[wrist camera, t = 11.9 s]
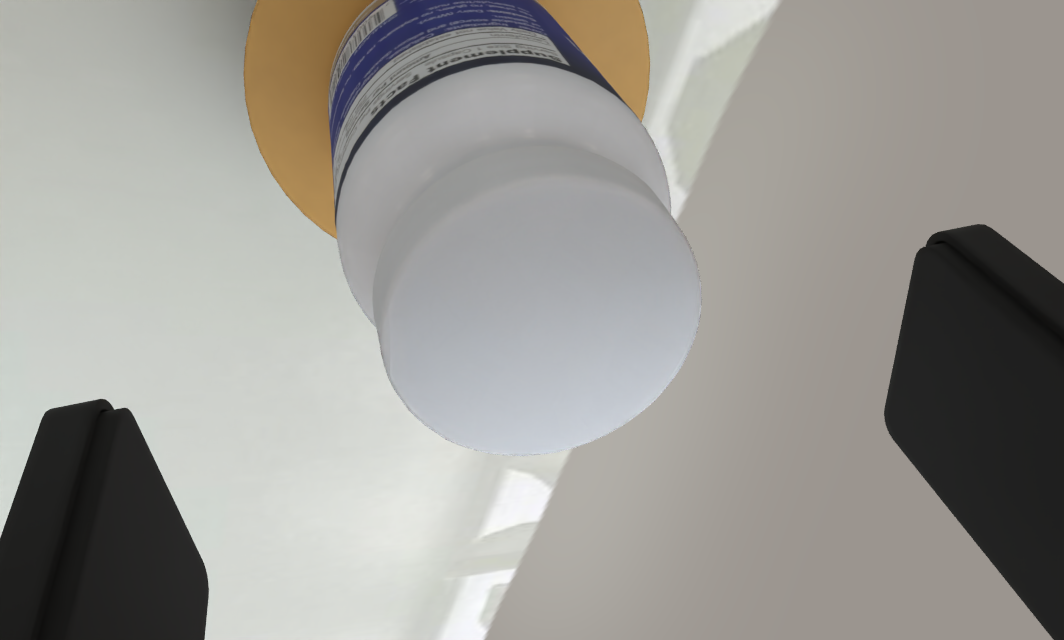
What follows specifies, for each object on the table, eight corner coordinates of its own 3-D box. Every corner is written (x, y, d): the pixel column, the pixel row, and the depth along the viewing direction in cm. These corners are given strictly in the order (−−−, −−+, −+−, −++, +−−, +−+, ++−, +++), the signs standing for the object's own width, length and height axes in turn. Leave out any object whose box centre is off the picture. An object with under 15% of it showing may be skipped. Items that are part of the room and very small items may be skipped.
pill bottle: (585, 177, 22) (739, 437, 14) (362, 227, 22) (393, 524, 14) (558, -61, 19) (739, 102, 11) (294, -10, 19) (282, 201, 11)
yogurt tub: (218, -146, 23) (185, -97, 17) (565, -189, 24) (648, -158, 18) (303, 178, 29) (301, 300, 23) (583, 130, 30) (652, 235, 24)
